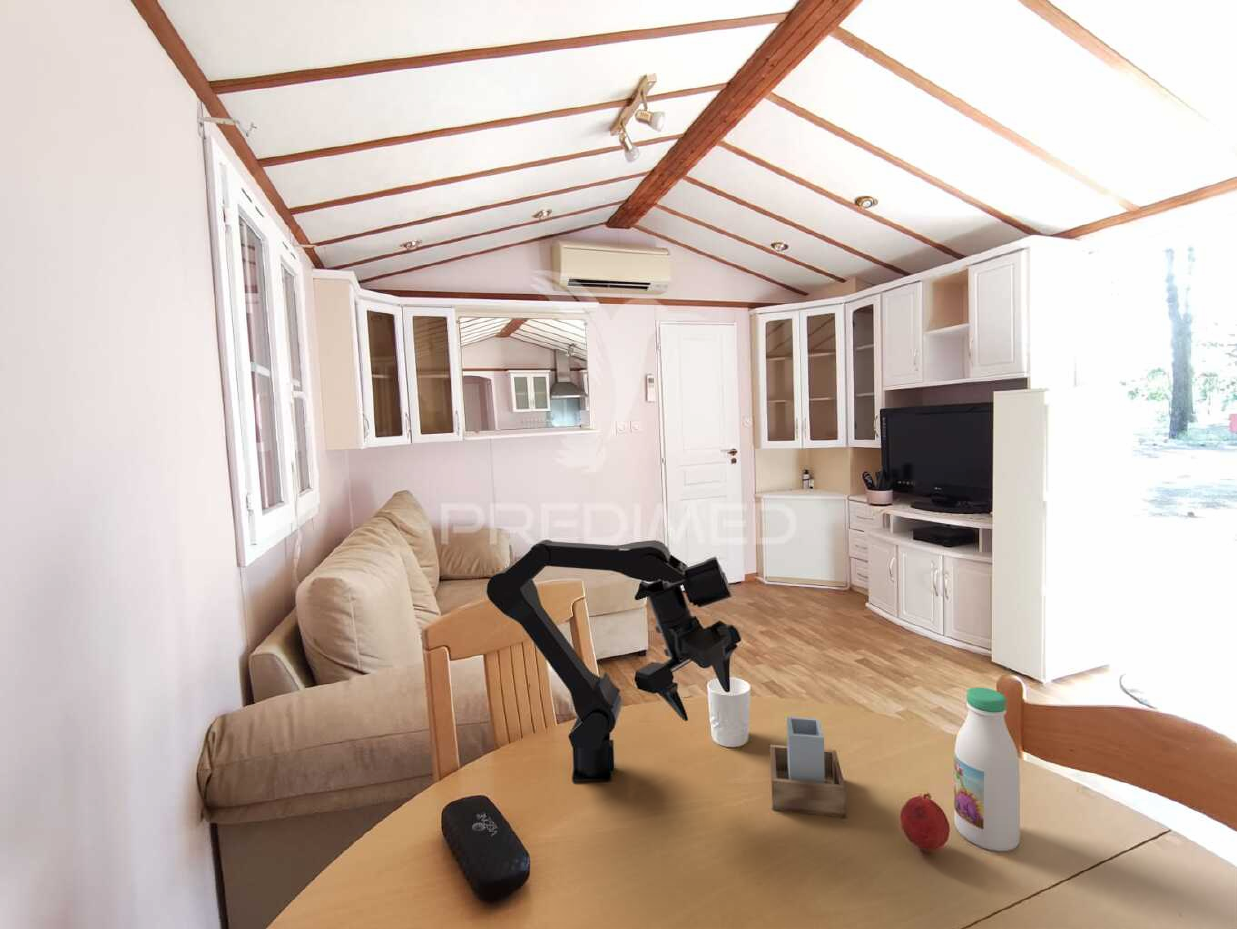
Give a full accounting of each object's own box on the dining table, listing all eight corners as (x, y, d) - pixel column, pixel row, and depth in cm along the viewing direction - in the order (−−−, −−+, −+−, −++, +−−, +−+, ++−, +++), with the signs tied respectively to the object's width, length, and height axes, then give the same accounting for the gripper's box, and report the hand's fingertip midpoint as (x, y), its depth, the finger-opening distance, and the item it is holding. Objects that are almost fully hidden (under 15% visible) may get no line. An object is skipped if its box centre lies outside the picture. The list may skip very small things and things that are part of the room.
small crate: (790, 798, 89) (789, 735, 89) (787, 776, 95) (786, 716, 95) (824, 802, 88) (824, 737, 88) (820, 779, 94) (819, 718, 94)
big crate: (772, 809, 88) (771, 780, 88) (770, 770, 98) (770, 744, 98) (845, 817, 85) (845, 787, 85) (836, 777, 96) (835, 750, 95)
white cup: (755, 749, 105) (754, 694, 104) (711, 749, 105) (710, 695, 104) (746, 727, 113) (745, 676, 112) (705, 727, 113) (704, 677, 112)
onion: (930, 871, 75) (930, 811, 74) (891, 844, 80) (890, 787, 79) (958, 855, 77) (958, 797, 77) (919, 830, 82) (918, 775, 82)
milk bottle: (1009, 821, 84) (1010, 684, 83) (1028, 858, 76) (1028, 709, 75) (949, 811, 86) (948, 678, 85) (960, 846, 79) (960, 702, 78)
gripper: (653, 645, 84) (691, 747, 84) (745, 592, 93) (780, 684, 93) (618, 639, 94) (652, 731, 93) (704, 592, 103) (736, 675, 103)
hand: (707, 705), depth 95 cm, fingers open, 9 cm apart
